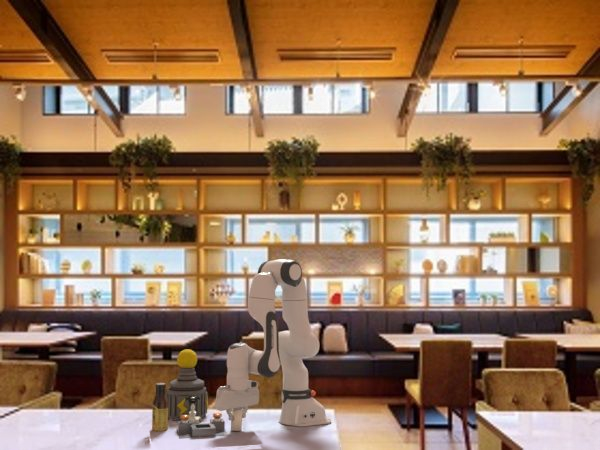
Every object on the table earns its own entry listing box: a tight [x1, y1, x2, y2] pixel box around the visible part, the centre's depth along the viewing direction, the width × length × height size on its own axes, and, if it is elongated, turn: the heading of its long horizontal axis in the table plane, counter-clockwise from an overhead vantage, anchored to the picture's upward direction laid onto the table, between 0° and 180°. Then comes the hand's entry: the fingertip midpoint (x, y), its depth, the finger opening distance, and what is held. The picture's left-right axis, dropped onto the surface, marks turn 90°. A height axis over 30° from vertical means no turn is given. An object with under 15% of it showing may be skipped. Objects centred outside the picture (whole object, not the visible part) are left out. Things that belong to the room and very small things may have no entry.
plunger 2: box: [212, 412, 223, 421], centre depth 267 cm, size 4×4×6 cm
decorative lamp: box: [165, 348, 209, 422], centre depth 298 cm, size 19×19×30 cm
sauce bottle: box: [151, 382, 169, 432], centre depth 267 cm, size 7×6×20 cm
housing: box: [176, 418, 229, 440], centre depth 261 cm, size 19×15×5 cm
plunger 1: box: [180, 415, 190, 423], centre depth 264 cm, size 4×4×6 cm
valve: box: [185, 396, 202, 424], centre depth 280 cm, size 7×7×12 cm
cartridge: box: [230, 407, 243, 432], centre depth 265 cm, size 4×4×10 cm
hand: (237, 418), depth 265 cm, fingers closed on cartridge, 5 cm apart
